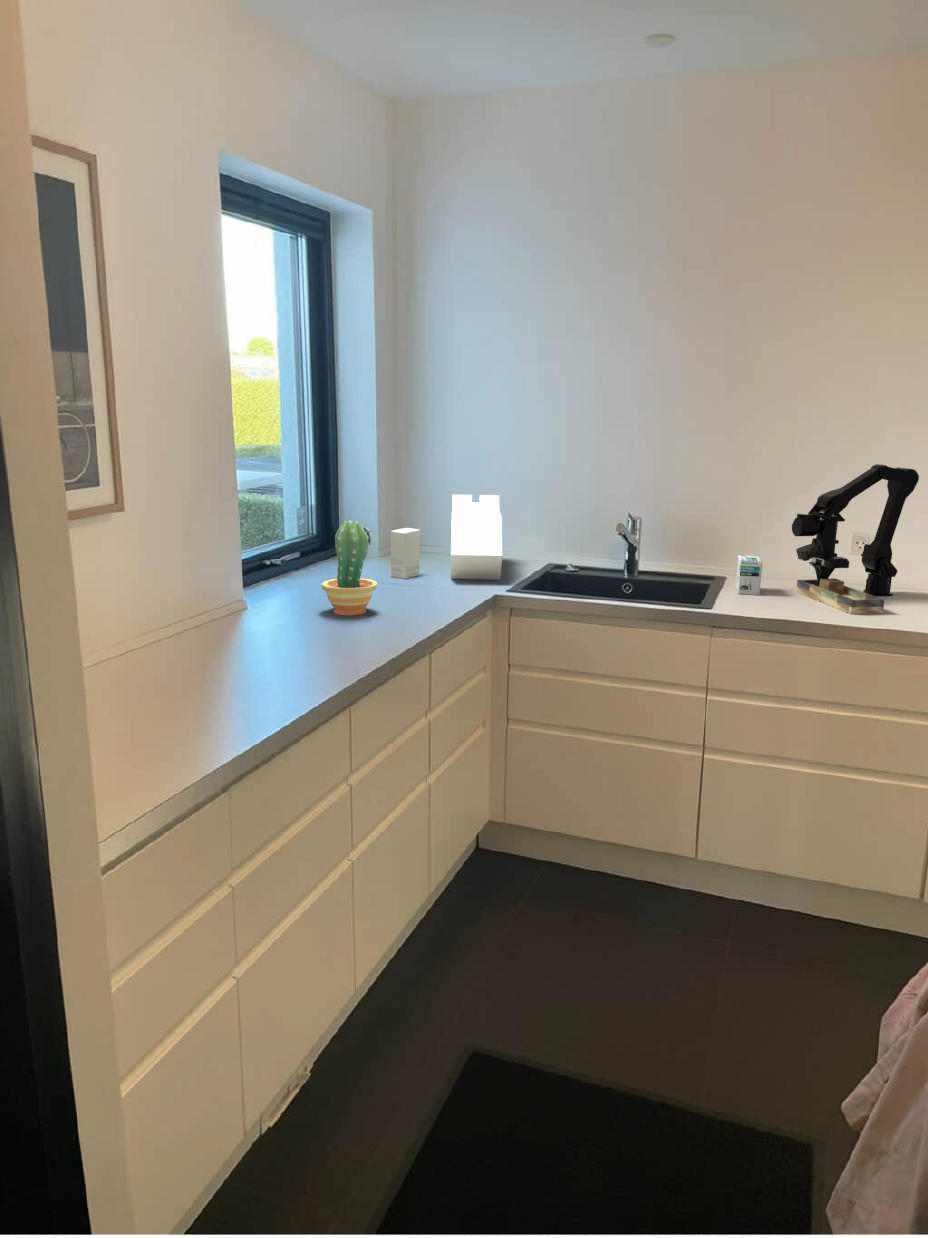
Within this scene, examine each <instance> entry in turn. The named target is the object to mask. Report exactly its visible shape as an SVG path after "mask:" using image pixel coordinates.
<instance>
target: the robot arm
mask: <svg viewBox="0 0 928 1238" xmlns="http://www.w3.org/2000/svg"><path fill="white" fill-rule="evenodd" d="M881 480H885V481H887V485H886V486H887V492H888V497H887V500H886V502H885V505H884V509H883V513H882V515H881V518H880V521H879V524H878V527H877V530H876V533H875V536H874V539H873V541H872V542H870V543H865V544H864V547H863V551H862V553H861V554H860V557H861V563H862V566H863V567H864V570H865V573H868V574H867V578H866V580H865V588H864V589H863V591H862V592H864V593H867V594H870V595H872V596H875V597H879V596H881V597H882V596H884V597H885V596H894V593H891V589H892V588H891V587H892V580H893V578H896V576H897V573H898V569H897V568H896V566H894V564H893V562H892V558H893V551H892V550H893V549H892V541H893V538H894V536H895V532H896V529H897V527H898V523H899V520H900V517H901V514H902V511H903V508H904V505H905V502H906V500H907V498H909V496H910V495H911V494H912V493H913V492H914V490H915V488H916V487H917V484H918V483H919V481H920V475H919V473H918V472H917V470H915V469H913V468H907V467H899V466H898V467H890V466H888V465H885V464H874V465H872V466H871V467H870V468H869V469H868V470H866V471H865V472H862V474H860V475H859V476H857V477H856V478H854V479H852V480H851V481H849V482H848V483H846V484H845V485H843V486H841V487H839V488H836V489H833V490H830V491H827V492H824V493H822V494H820V495H819V496H818V497H817V499H816V500H817V501H816V502H815V503H814V505H813V506H812V507H811V509H810V510H809V511H808V513H806V514H805V513H797V514H796V517H795V518H794V520H793V521H792V523H791V531H792V535H794V537H813V538H812V540H811V543H810V544H806V545H802V546H801V547H797V548H796V554H797V558H798V560H802V561H803V562H804V561H805V562H807V561H809V562H808V563H809V565H811V566H812V567H813V568H814V571H815V574H816V580H818V585H819V584H820V579H830V576H831V575H832V574H833V572H834V571H835V569H849V568H850V560H849V559H848V558H846V557H842V556H838V553H837V552H835V551H836V544H839V543H840V542H839V541H840V540H839V539H837V534H838V525H839V522H845V521H846V519H845V518H844V517H843V516H842V515H841V512H842V511H843V510H844V509H846V508H847V507H848V505H849V504H850V503H851V501H852V499H854V498H856V497H857V496H859V495H861V494H862V493H863V492H866V490H868V489H869V488H871V487H873V486H874V485H875V484H877V483H878V482H881Z"/></svg>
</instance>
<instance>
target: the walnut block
mask: <svg viewBox="0 0 928 1238" xmlns="http://www.w3.org/2000/svg"><path fill="white" fill-rule="evenodd" d="M844 586H845V581H843V580H841V579H838V578H836V577H835V578H834V577H833V578H828V579H820V584H819V587H821V588H823V589H826V590H829V591H832V592H834V593H837V594H840V595H843V589H844Z"/></svg>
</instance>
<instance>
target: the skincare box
mask: <svg viewBox="0 0 928 1238" xmlns="http://www.w3.org/2000/svg"><path fill="white" fill-rule="evenodd" d="M420 535H421V530H420V529H419V528H411V527H404V528H398V529H394V530H390V577H391V578H397V579H403V580H407V579H410V578H414V577H417V576H418V577H419V576H421V575H420V573H421V571H420V567H421V565H420V561H421V557H420V556H421V555H420V554H421V551H420V549H421V548H420V547H421V546H420V545H421V544H420V543H421V539H420V538H421V536H420Z"/></svg>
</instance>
